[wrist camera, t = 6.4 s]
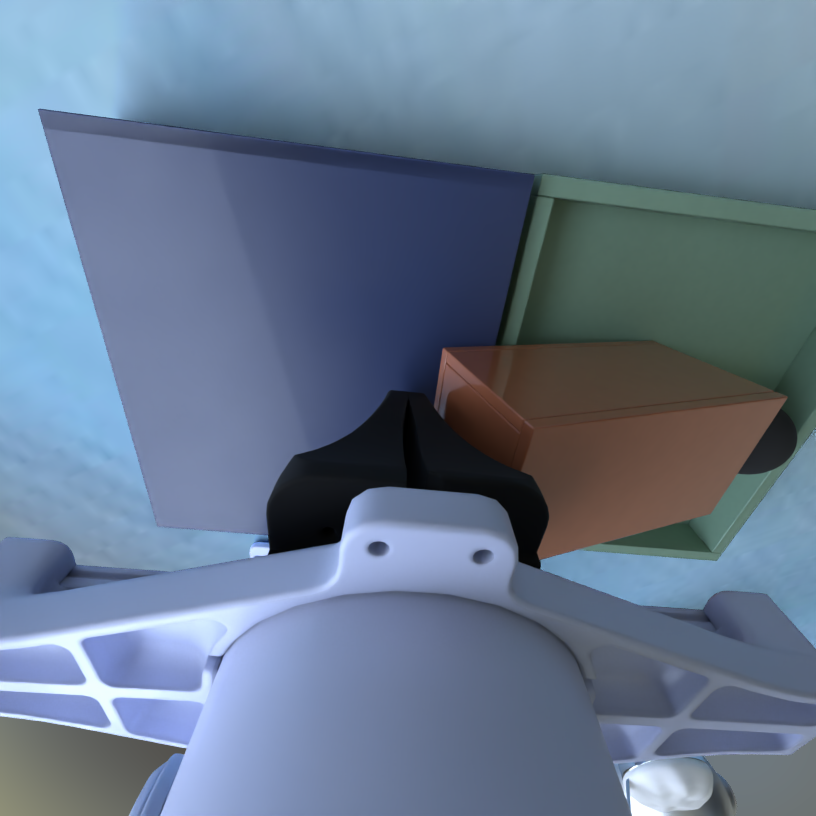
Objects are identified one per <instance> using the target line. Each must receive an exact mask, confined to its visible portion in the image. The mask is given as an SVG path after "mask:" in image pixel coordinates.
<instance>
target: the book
mask: <svg viewBox="0 0 816 816" xmlns="http://www.w3.org/2000/svg"><path fill="white" fill-rule="evenodd" d="M38 111H39V115H40V118H41V122H42V125H43V129H44V132H45V136H46V139H47V143H48V146H49V150H50V153H51V157H52V160H53V163H54V167H55V170H56V174H57V177H58V181H59V184H60V188H61V191H62V195H63V198H64V202H65V205H66V209H67V212H68V216H69V219H70V223H71V226H72V230H73V233H74V237H75V240H76V244H77V247H78V251H79V254H80V258H81V261H82V265H83V268H84V272H85V275H86V279H87V282H88V286H89V289H90V293H91V296H92V300H93V303H94V307H95V310H96V314H97V317H98V321H99V324H100V328H101V331H102V335H103V338H104V342H105V345H106V349H107V352H108V356H109V359H110V363H111V366H112V370H113V373H114V377H115V380H116V384H117V387H118V391H119V394H120V398H121V401H122V405H123V408H124V412H125V415H126V419H127V422H128V426H129V429H130V433H131V436H132V440H133V443H134V447H135V450H136V454H137V457H138V461H139V464H140V468H141V471H142V475H143V478H144V482H145V485H146V488H147V492H148V495H149V499H150V502H151V506H152V509H153V513H154V516H155V520H156V523H157V526H158V527H169V528H181V529H194V530H207V531H220V532H233V533H245V534H258V535H268V528H267V517H266V510H267V502H268V500H269V498H270V495H271V493H272V491H273V489H274V486H275V484H276V482H277V480H278V478H279V477H280V475H281V473H282V472H283V470H284V469H285V467H286V466H287V465H288V463H289V462H290V460H291V459H292V458H293V456H294V455H296V454H301V453H304V452H308V451H312V450H315V449H318V448H321V447H324V446H326V445H329V444H331V443H333V442H336V441H338V440H340V439H341V438H343V437H345V436H347V435H348V434H350V433H351V432H353V431H354V430H355V429H357V428H358V427H359V426H360V425H362V424H363V423H364V422H365V421H366V420H367V419H368V418H369V417H370V416H371V415H372V414H373V413H374V412H375V410H376V409H377V408H378V407H379V406H380V404H381V403H382V402H383V400H384V399H385V397H386V395H387V393H388V392H389V391H390V390H397V391H407V392H417V393H424V394H425V395H426V396H427V398H428V399H429V401H430V402H431V404H432V405H433V407H434V402H435V396H436V389H437V383H438V376H439V370H440V363H441V357H442V350H443V348H445V347H475V346H495V344H496V340H497V336H498V332H499V327H500V323H501V319H502V315H503V310H504V306H505V302H506V297H507V293H508V289H509V285H510V280H511V276H512V272H513V267H514V263H515V259H516V255H517V250H518V246H519V242H520V237H521V233H522V229H523V225H524V220H525V216H526V212H527V207H528V203H529V199H530V195H531V190H532V186H533V182H534V177H535V175H534V174H528V173H520V172H513V171H505V170H498V169H490V168H483V167H475V166H468V165H460V164H453V163H445V162H437V161H430V160H422V159H415V158H407V157H400V156H392V155H385V154H377V153H370V152H362V151H355V150H347V149H340V148H332V147H324V146H317V145H309V144H302V143H294V142H287V141H279V140H272V139H264V138H257V137H249V136H242V135H234V134H226V133H219V132H211V131H204V130H196V129H189V128H181V127H174V126H166V125H159V124H151V123H144V122H136V121H129V120H121V119H113V118H106V117H98V116H91V115H83V114H76V113H68V112H61V111H53V110H46V109H38Z"/></svg>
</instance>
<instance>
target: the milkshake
mask: <svg viewBox="0 0 816 816" xmlns="http://www.w3.org/2000/svg"><path fill="white" fill-rule="evenodd" d="M618 766H619V770H620V773H621V777H622V780H623V784H624V787H625V789H626V797H627V802H628V805H629V808H630V810H631V800H630V796H631V797H632V798H633V799H635V800H636V801H637V802H638V803H640V804H642V805H644V806H646V807H649V808H651V809H654V810H656V811H659V812H662V813H667V812H670V811H674V810H695V809H699V808H700V807H701V806H702V805H703V804H704V803H705V802H706V801H707V800H708V799H709V798H710V797H711V795H712V792H713V774H712V771H711V769H710V768H709V766H708V764H707V763H706V761H705V759H704V758H703V756H696V757H683V758H672V759H662V760H651V761H641V762H631V763H620V764H618Z"/></svg>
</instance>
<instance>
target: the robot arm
mask: <svg viewBox="0 0 816 816" xmlns="http://www.w3.org/2000/svg"><path fill="white" fill-rule="evenodd" d="M266 517H267V528H268V539H269V543H264V542H256V543H253V544H252V546H251V548H250V558H248V559H242V560H236V561H230V562H225V563H219V564H213V565H208V566H202V567H196V568H190V569H185V570H179V571H173V572H167V571H153V570H139V569H126V568H112V567H98V566H84V565H76V563H75V559H74V556H73V553H72V551H71V550H70V549H69V547H68V546H67V545H65V544H63V543H61V542H59V541H54V540H45V539H31V538H18V537H6V538H5V539H4V540H2V541H1V542H0V716H6V717H13V718H21V719H29V720H37V721H43V722H49V723H55V724H62V725H68V726H73V727H79V728H84V729H89V730H94V731H99V732H105V733H110V734H115V735H120V736H126V737H131V738H136V739H141V740H146V741H152V742H157V743H162V744H167V745H172V746H178V747H183V748H187V750H186V752H185V755H183V754H178V753H176V754H174V755H172V756H171V757H170V758H169V760H168V762H166V763H164V764H163V765H161V766H160V767H159V768H158V769H157V770H155V771H154V772H153V773H152V774H151V775H150V777H149V779H148V780H147V782H146V784H145V785H144V787H143V789H142V791H141V793H140V795H139V797H138V798H137V800H136V803H135V804H134V806H133V808H132V810H131V813H130V815H129V816H632V813H631V810H630V808H629V805H628V802H627V799H626V797H625V794H624V791H623V788H622V785H621V783H620V780H619V777H618V774H617V772H616V769H615V766H614V764H620V763H631V762H641V761H651V760H662V759H672V758H683V757H696V756H710V755H736V754H765V755H769V754H770V755H791V754H793V753H794V752H795V751H797V750H798V749H800V748H801V747H802V746H804V745H805V744H806V743H808V742H809V741H811V740H812V739H813V738H815V737H816V649H815V648H814V646H813V645H812V644H811V643H810V642H809V641H808V640H807V639H806V638H805V636H804V635H803V634H802V633H801V632H800V631H799V630H798V629H797V627H796V626H795V625H794V624H793V623H792V622H791V621H790V620H789V619H788V617H787V616H786V615H785V614H784V613H783V612H782V611H781V610H780V608H779V607H778V606H777V605H776V604H775V603H774V602H773V601H772V599H771V598H770V597H769V596H768V595H767V594H763V593H751V592H737V591H722V592H719V593H716V594H715V595H713V596H712V597H711V598H710V599H709V600H708V602H707V603H706V605H705V607H704V609H703V610H695V609H681V608H668V607H654V606H640V605H637V604H634V603H631V602H628V601H626V600H623V599H620V598H617V597H614V596H612V595H609V594H606V593H603V592H601V591H598V590H595V589H592V588H590V587H587V586H584V585H581V584H579V583H576V582H573V581H570V580H567V579H565V578H562V577H559V576H556V575H554V574H551V573H548V572H545V571H543V570H540V567H541V563H540V560H539V557H538V554H537V551H538V549H539V546H540V544H541V541H542V539H543V536H544V534H545V531H546V529H547V526H548V521H549V511H548V506H547V504H546V501H545V499H544V497H543V495H542V493H541V490H540V488H539V487H538V485H537V483H536V481H535V480H534V478H533V476H531V475H529V474H526V473H524V472H521V471H518V470H516V469H513V468H511V467H508V466H506V465H504V464H502V463H500V462H498V461H496V460H494V459H492V458H491V457H489V456H487V455H485V454H484V453H482V452H481V451H479V450H478V449H476V448H475V447H473V446H472V445H470V444H469V443H468V442H467V441H465V440H464V439H463V438H462V437H461V436H459V435H458V434H457V433H456V432H455V431H454V430H453V429H452V428H451V427H450V426H449V425H448V424H447V423H446V422H445V421H444V419H443V418H442V417H441V416H440V415H439V413H438V412H437V411H436V409H435V408H434V407H433V405H432V404H431V402H430V401H429V399H428V398H427V396H426V395H425V394H424V393H417V392H407V391H397V390H390V391H389V392H388V393H387V395H386V397H385V399H384V400H383V402H382V403H381V404H380V406H379V407H378V408H377V409H376V410H375V412H374V413H373V414H372V415H371V416H370V417H369V418H368V419H367V420H366V421H365V422H364V423H363V424H362V425H360V426H359V427H358V428H357V429H355V430H354V431H353V432H351V433H350V434H348V435H347V436H345V437H343V438H341V439H340V440H338V441H336V442H333V443H331V444H329V445H326V446H324V447H321V448H318V449H315V450H312V451H308V452H304V453H301V454H296V455H294V456H293V458H292V459H291V460H290V462H289V463H288V465H287V466H286V467H285V469H284V470H283V472H282V473H281V475H280V477H279V478H278V480H277V482H276V484H275V486H274V489H273V491H272V493H271V495H270V498H269V500H268V502H267V510H266Z"/></svg>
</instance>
